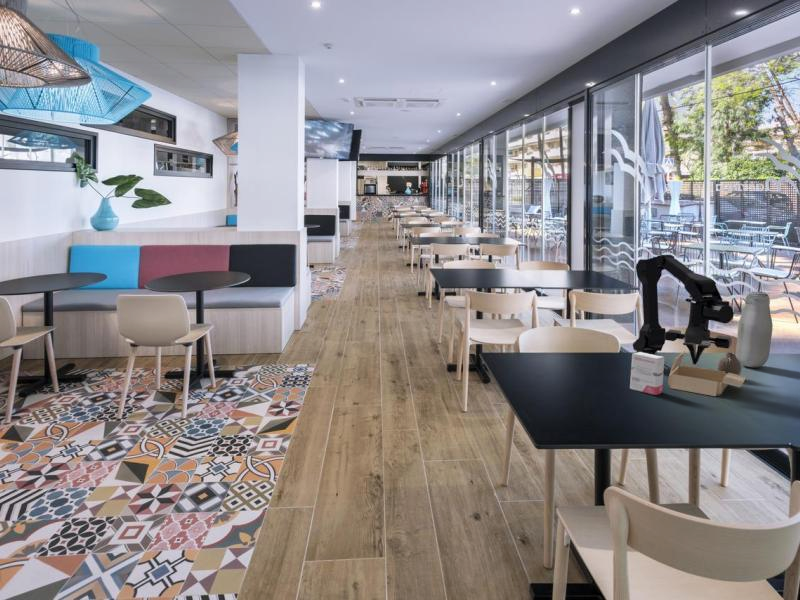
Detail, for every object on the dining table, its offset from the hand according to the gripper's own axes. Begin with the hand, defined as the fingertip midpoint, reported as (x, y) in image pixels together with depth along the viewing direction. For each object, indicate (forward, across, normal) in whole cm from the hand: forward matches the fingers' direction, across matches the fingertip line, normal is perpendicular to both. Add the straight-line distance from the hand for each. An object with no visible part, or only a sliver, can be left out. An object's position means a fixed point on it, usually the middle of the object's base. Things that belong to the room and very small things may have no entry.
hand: (694, 364), depth 179 cm
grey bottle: (+7, +12, +38) cm, 40 cm away
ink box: (+7, -11, -16) cm, 20 cm away
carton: (+7, +1, 0) cm, 7 cm away
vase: (+7, +8, +16) cm, 19 cm away
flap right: (+3, +9, 0) cm, 9 cm away
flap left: (+3, -6, 0) cm, 6 cm away
